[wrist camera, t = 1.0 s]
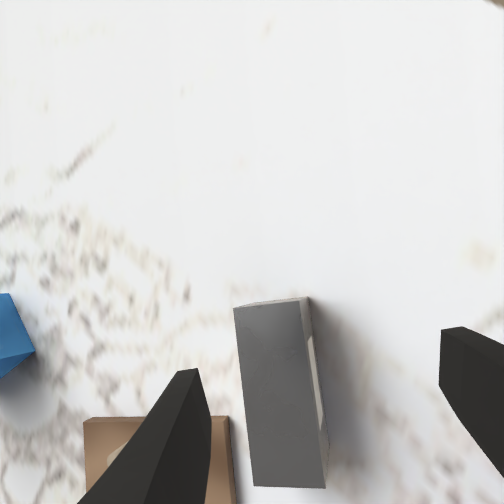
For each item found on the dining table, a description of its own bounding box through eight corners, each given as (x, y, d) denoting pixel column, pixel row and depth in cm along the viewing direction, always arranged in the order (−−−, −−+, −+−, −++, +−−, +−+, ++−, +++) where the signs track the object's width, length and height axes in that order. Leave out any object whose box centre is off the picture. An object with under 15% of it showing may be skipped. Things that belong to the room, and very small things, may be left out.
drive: (329, 443, 22) (325, 488, 17) (272, 443, 23) (253, 486, 18) (308, 296, 23) (299, 300, 19) (254, 302, 24) (232, 308, 20)
